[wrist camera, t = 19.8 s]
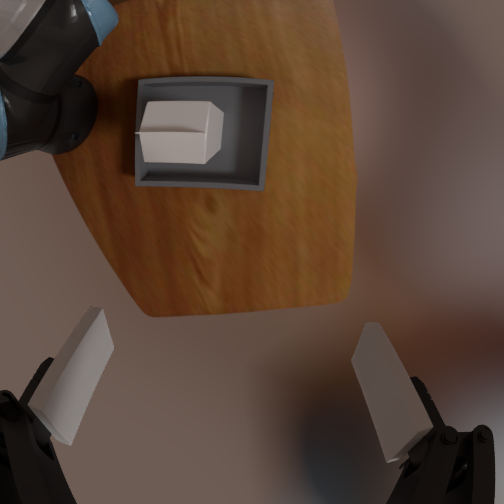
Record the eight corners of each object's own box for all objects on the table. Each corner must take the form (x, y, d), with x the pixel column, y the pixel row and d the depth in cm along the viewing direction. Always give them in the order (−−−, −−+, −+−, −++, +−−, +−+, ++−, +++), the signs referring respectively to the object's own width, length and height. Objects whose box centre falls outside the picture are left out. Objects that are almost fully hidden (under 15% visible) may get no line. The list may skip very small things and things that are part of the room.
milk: (186, 111, 38) (134, 96, 18) (224, 112, 39) (206, 95, 19) (183, 148, 41) (130, 167, 21) (221, 150, 41) (200, 169, 21)
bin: (145, 179, 44) (135, 186, 39) (149, 83, 37) (138, 79, 32) (261, 184, 45) (263, 191, 40) (270, 85, 38) (274, 80, 33)
